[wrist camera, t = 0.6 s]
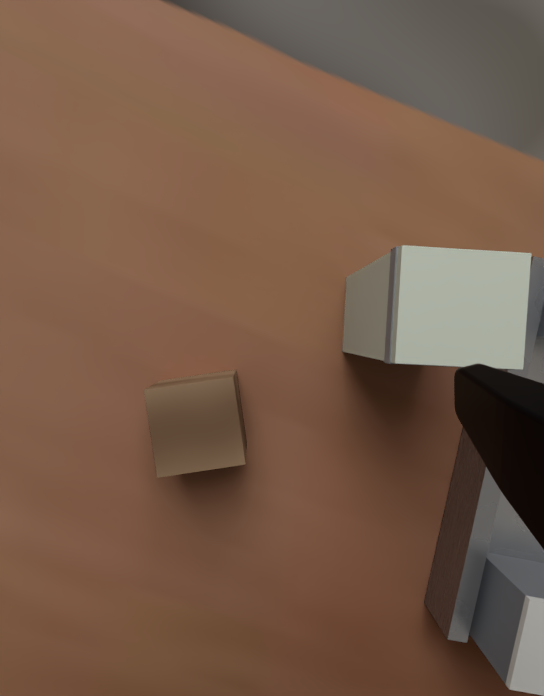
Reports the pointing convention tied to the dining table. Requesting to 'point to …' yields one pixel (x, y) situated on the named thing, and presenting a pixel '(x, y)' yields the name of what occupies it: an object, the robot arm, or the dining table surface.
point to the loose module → (439, 308)
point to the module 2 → (541, 326)
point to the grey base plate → (482, 507)
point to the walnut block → (196, 423)
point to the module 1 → (512, 621)
